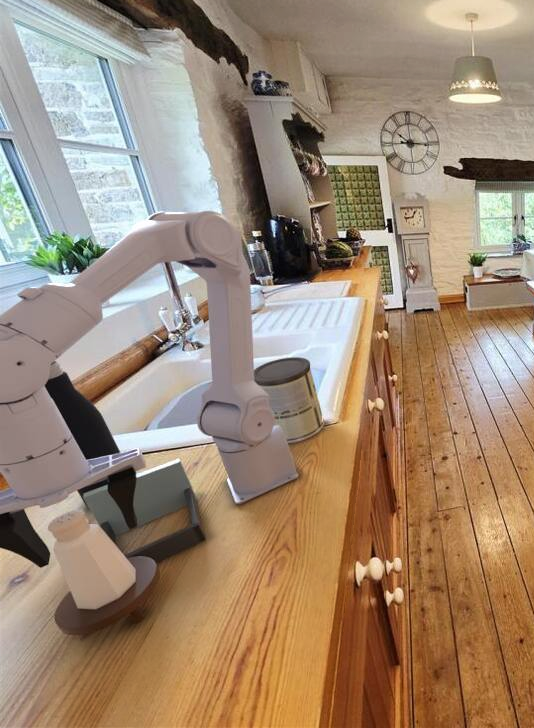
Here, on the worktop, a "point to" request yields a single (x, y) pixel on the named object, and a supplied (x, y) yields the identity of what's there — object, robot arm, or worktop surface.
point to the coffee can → (291, 397)
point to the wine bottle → (81, 420)
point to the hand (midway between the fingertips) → (91, 541)
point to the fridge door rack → (152, 510)
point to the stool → (96, 619)
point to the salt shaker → (90, 561)
